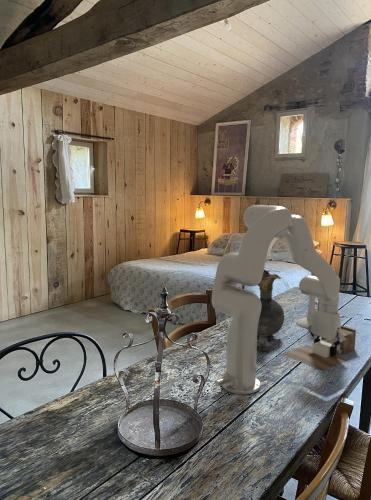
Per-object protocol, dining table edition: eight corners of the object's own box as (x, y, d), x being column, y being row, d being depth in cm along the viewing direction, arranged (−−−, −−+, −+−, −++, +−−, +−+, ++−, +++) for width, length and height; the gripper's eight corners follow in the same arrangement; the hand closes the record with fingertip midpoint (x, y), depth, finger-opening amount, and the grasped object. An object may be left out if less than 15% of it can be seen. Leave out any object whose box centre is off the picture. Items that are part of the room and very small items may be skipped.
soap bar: (326, 357, 151) (326, 348, 151) (312, 352, 156) (312, 343, 155) (348, 348, 160) (349, 339, 160) (334, 343, 165) (335, 335, 164)
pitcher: (276, 345, 165) (280, 273, 161) (235, 335, 176) (236, 267, 171) (286, 337, 174) (289, 268, 169) (246, 328, 185) (248, 263, 180)
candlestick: (330, 325, 189) (334, 262, 185) (312, 331, 182) (316, 265, 178) (308, 318, 200) (311, 258, 195) (290, 323, 193) (293, 260, 188)
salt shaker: (270, 356, 155) (271, 325, 153) (254, 354, 156) (255, 324, 154) (270, 350, 161) (271, 320, 159) (255, 348, 162) (256, 319, 160)
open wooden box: (323, 373, 140) (324, 348, 139) (281, 356, 155) (282, 333, 153) (364, 355, 156) (365, 332, 155) (323, 340, 170) (324, 320, 169)
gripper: (302, 303, 158) (299, 347, 160) (342, 314, 144) (339, 362, 147) (314, 300, 162) (311, 343, 165) (354, 311, 148) (350, 357, 151)
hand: (324, 352), depth 156 cm, fingers open, 6 cm apart
